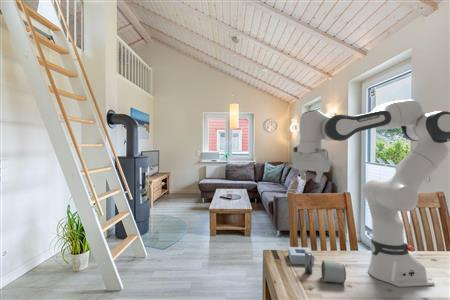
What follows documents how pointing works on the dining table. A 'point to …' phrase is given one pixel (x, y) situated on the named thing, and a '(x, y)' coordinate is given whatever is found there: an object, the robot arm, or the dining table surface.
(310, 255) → the pin
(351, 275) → the dining table surface
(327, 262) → the ceramic mug
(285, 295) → the dining table surface
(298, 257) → the collar block
